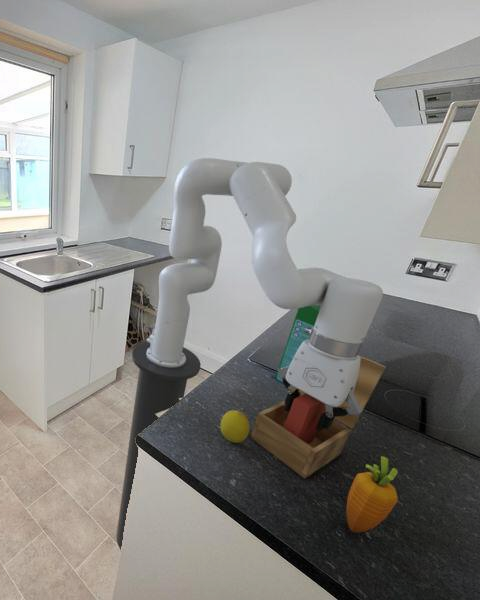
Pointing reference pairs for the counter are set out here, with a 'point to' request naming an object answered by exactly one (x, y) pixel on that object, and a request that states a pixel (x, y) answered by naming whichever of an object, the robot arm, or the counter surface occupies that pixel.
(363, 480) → the carrot
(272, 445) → the chest
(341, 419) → the wooden slab
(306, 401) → the brick
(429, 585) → the counter surface
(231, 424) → the lemon
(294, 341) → the milk carton
